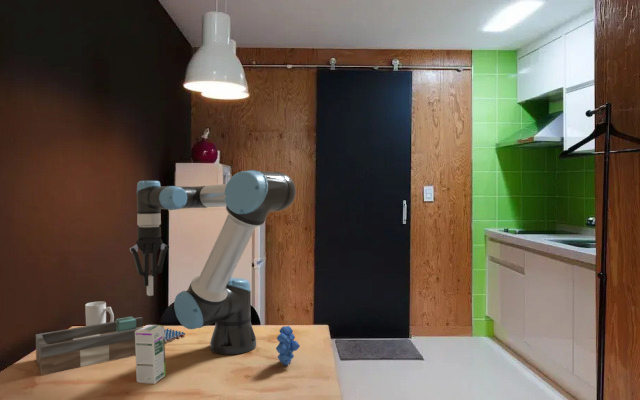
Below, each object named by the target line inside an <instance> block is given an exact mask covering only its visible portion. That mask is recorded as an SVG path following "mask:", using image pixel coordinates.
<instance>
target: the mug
mask: <svg viewBox="0 0 640 400" xmlns="http://www.w3.org/2000/svg"><path fill="white" fill-rule="evenodd" d="M84 309H85V313H84V314H85V326H90V325H96V324H102V323H107V312H108V313H109V315H110V320H109V322H114V321H115V320H114V319H115V316H114V315H115V314H114V312H113V309H112V307H111V306H107V303H106V301H93V302H87V303H86V304H85V307H84Z"/></svg>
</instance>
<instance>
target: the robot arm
mask: <svg viewBox="0 0 640 400" xmlns="http://www.w3.org/2000/svg"><path fill="white" fill-rule="evenodd" d="M296 194H297V189H296V185H295V182H294V181H293V179H292V178H291V176H289V175H287V174H286V173H283V172H280V171H263V170H261V171H260V170H254V169H248V170H241V171H239V172H236V173H235V174H233V175H232V176H231V177H230V178H229V180H228V181H227V183H225V184H223V183H221V184H213V185H212V184H211V185H201V186H196V185H195V186H178V185H177V186H176V185H166V186H161V182H160V181H159V180H140V181H138V182H137V186H136V212H137V213H136V214H137V216H136V217H137V222H136V223H137V226H138V227H137V229H136V230H137V241H136V242H135V244H134V245H133V246H132V247H129V248H128V250H129V252H130V253H131V255H132V258H133V260H134V261H133V262H134V265H135V269H136V272H137V274H138V275H139V276H142V277H143V286H144V287H146V296H148V297H151V296H154V286H156V285H157V276H158V275H159V274H161V273H162V271H163V267H164V262H165V259H166V254H167V251H168V250H169V248H170V245H168V244H165V243H163V240H162V228H161V224H162V221H161V220H162V219H161V212H162V211H161V210H169V211H173V210H174V211H175V210H181V209H183V210H184V209H207V208H222V207H224V208H225V210H226V212H227V217H226V219H225V221H224V223H223V225H222V227H221V230H220V232H219V234H218V236H217V238H216V241H215V242H214V245H213V246H212V249H211V251H210V253H209V255H208V257H207V260H206V262H205V264H204V266H203V268H202V271H201V272H200V275H198V276H195V277H193V279H191V282H190V284H189V287H188V289H187V290H182V291H181V292H179V293H177V295H176V296H175V299H174V303H173V304H174V305H173V307H174V312H175V316H176V319H177V320H178V322H179V323H180V324H181V326H182V327H184V328H185V329H188V330H195V329H201V328H203V327H206V326H209V325H212V324H214V323H215V324H214V325H215V326H214V329H213V332H212V335H211V338H210V342H209V344H210V345H209V347H210V351H211V352H213V353H215V354H218V355H240V354H244V353H249V352H251V351H252V350H254V349H256V347H257V337H256V335H255V331H254V329H253V326H252V322H251V320H252V317H251V315H252V314H251V311H252V309H251V307H252V306H251V305H252V304H251V303H252V301H251V300H252V299H251V297H252V296H251V294H252V293H251V292H252V291H251V283H250V281H249V280H248V279H246V278H242V277H241V278H240V277H233V274H234V272H235V271H236V268H237V266H238V264H239V262H240V260H241V258H242V256H243V254H244V251H245V250H246V248H247V246H248V243H249V241H250V239H251V237H252V235H253V233H254V231H255V229H256V228H257V227H261V226H262V225H264V223H265V221H266V220H267V217H268V215H269V214H270V213H271V212H280V211H283V210H287V208H289V207H290V206H291V205H292V204H293V203H294V201H295V199H296V196H297V195H296ZM159 249H160V252H159V257H158V261H157V252H158V251H159ZM139 251H140V252H141V253H142V264H141V261H140V256H139V253H138V252H139ZM149 257H150V262H149ZM149 265H150V268H149ZM149 269H150V271H149ZM149 272H150V273H149Z"/></svg>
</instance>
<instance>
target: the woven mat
mask: <svg viewBox="0 0 640 400" xmlns="http://www.w3.org/2000/svg"><path fill="white" fill-rule="evenodd" d="M164 336H165V344H168V343H170V342H173V340H174V341H175V339H177V338H180V337H181V338H180V339H183V338H185V336H186V332H184V331H178V330H175V329H171V328H170V329H169V328H166V329H165V328H164Z"/></svg>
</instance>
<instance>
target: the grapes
mask: <svg viewBox="0 0 640 400" xmlns="http://www.w3.org/2000/svg"><path fill="white" fill-rule="evenodd" d="M293 332H294V331H293V329H292V327H291V326H289V325H284V326H282V327H281V328H280V329H279V334H278V336H276V339H277V341H278V342H279V343H278V345H277V346H276V348H275V349H276V351H277V353H278V356H277V359H278V360H279V362H280V363H281V364H282V365H284V366H288V365H289V364H290V363H291V362H292V359H294V357H295V355H294V352H295V351H298V350H299V348H300V346H301V345H300V344H299V342H298V341H297V340H295V338H296V336H295V334H294V333H293Z"/></svg>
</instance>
